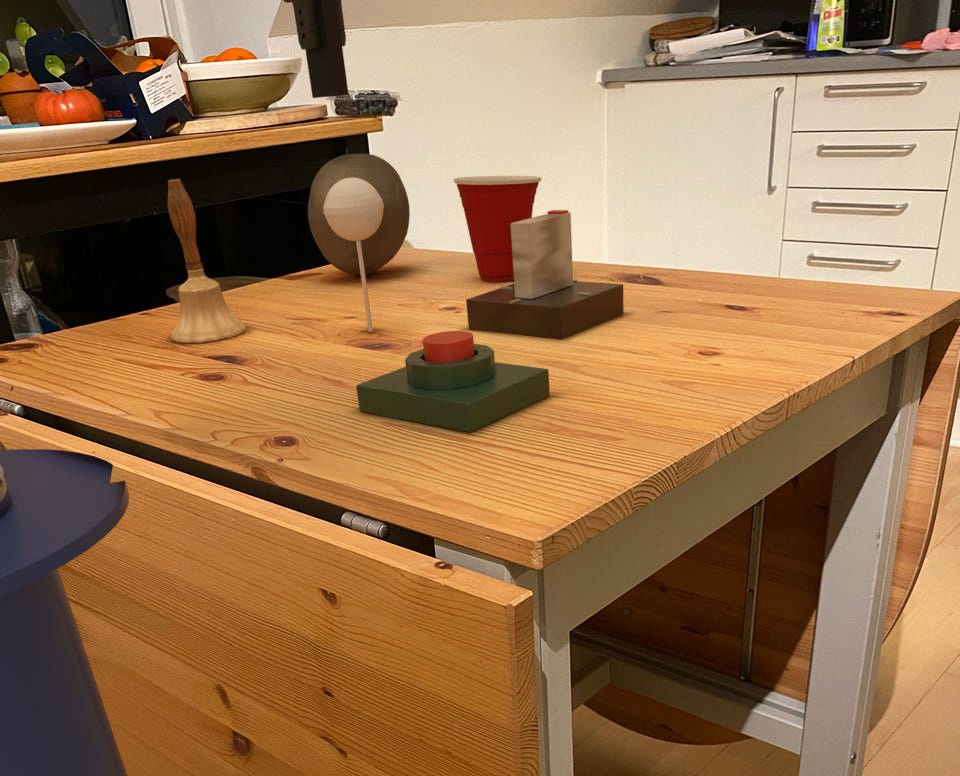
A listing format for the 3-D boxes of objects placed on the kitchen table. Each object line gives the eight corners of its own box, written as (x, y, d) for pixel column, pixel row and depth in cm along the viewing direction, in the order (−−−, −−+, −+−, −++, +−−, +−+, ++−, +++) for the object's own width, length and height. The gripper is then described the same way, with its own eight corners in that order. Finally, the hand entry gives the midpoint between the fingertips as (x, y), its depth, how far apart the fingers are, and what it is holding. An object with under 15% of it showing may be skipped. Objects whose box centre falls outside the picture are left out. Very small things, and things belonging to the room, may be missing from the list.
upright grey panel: (532, 299, 98) (527, 221, 94) (515, 297, 99) (510, 220, 95) (573, 284, 102) (570, 209, 99) (556, 283, 103) (553, 209, 100)
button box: (359, 411, 80) (351, 362, 78) (440, 379, 86) (435, 333, 84) (470, 432, 73) (465, 379, 71) (550, 395, 79) (547, 346, 77)
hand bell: (248, 336, 108) (216, 177, 100) (171, 347, 106) (133, 187, 98) (243, 321, 115) (213, 172, 107) (171, 332, 113) (135, 180, 105)
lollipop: (363, 340, 102) (341, 182, 94) (331, 334, 105) (307, 181, 98) (410, 327, 105) (391, 173, 97) (377, 321, 109) (357, 173, 101)
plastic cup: (563, 274, 123) (559, 169, 117) (491, 289, 119) (483, 181, 113) (515, 265, 132) (509, 167, 126) (446, 279, 127) (437, 178, 121)
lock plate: (467, 329, 102) (464, 297, 101) (532, 305, 109) (531, 276, 108) (561, 339, 95) (560, 305, 93) (624, 313, 102) (624, 282, 101)
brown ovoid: (295, 283, 134) (274, 162, 127) (365, 263, 144) (350, 149, 136) (370, 288, 126) (353, 159, 119) (439, 267, 136) (427, 146, 128)
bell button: (414, 363, 78) (412, 340, 77) (447, 350, 80) (445, 329, 80) (452, 368, 76) (449, 345, 75) (485, 355, 78) (483, 333, 77)
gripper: (233, -330, 61) (300, 100, 73) (380, -295, 69) (419, 87, 81) (164, -295, 65) (237, 105, 77) (310, -266, 74) (356, 92, 86)
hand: (330, 96), depth 79 cm, fingers closed
